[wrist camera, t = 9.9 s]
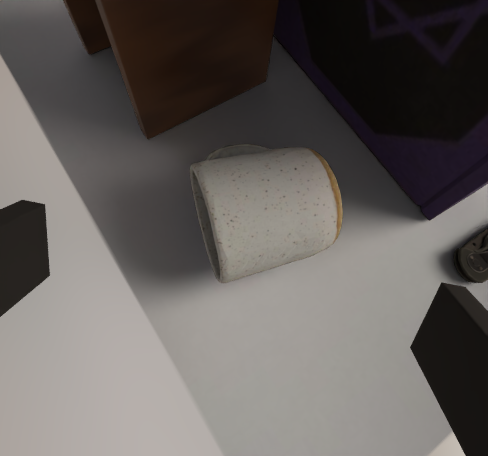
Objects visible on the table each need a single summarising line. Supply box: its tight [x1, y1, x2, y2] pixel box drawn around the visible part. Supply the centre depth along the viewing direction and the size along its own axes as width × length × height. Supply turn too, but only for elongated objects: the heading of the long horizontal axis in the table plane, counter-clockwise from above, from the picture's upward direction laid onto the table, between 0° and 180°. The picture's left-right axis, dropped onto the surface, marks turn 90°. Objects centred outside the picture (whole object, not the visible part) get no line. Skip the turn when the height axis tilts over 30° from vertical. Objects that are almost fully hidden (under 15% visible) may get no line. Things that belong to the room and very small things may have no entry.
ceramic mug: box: [190, 144, 343, 283], centre depth 22 cm, size 11×8×8 cm
